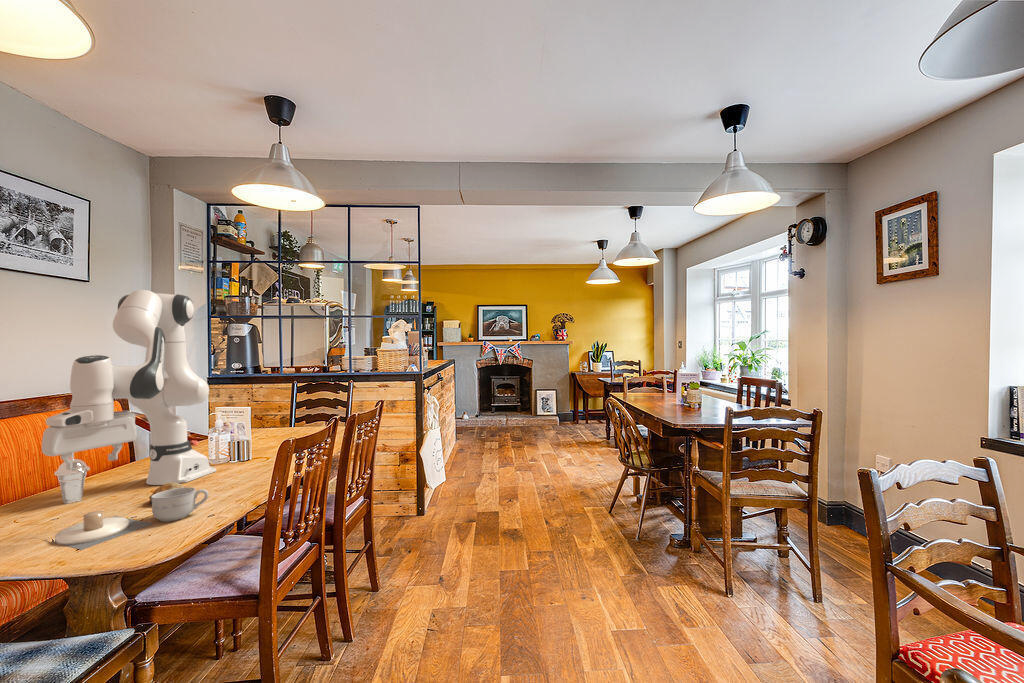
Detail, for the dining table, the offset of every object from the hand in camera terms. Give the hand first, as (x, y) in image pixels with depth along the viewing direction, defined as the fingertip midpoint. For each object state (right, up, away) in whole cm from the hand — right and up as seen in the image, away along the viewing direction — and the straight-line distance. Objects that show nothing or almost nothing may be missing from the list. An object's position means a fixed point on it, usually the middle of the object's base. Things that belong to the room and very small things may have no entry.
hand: (92, 464), depth 125 cm
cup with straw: (-30, -19, +26) cm, 44 cm away
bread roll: (+2, -19, +25) cm, 31 cm away
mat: (+1, -19, +1) cm, 19 cm away
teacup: (+16, -19, +12) cm, 28 cm away
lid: (0, -19, 0) cm, 19 cm away
